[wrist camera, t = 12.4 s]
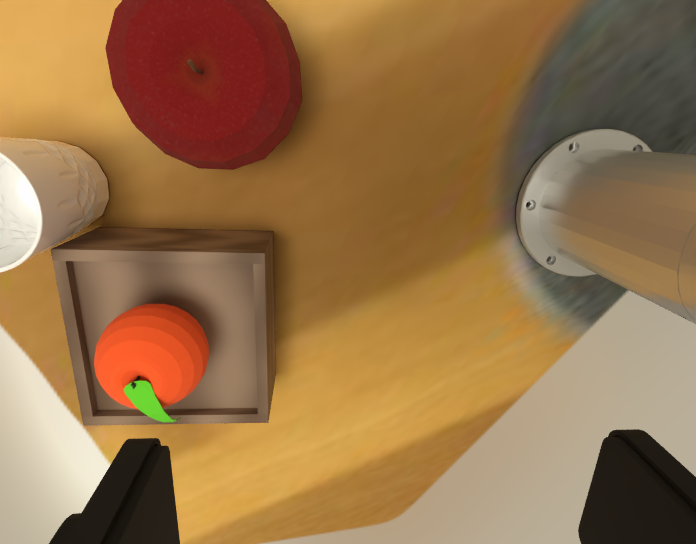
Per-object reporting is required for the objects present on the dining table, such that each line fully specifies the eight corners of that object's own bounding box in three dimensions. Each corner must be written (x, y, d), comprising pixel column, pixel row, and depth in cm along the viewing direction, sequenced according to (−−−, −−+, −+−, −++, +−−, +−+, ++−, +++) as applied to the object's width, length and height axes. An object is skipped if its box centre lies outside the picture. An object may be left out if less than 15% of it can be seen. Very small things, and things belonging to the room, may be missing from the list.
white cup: (122, 236, 35) (51, 276, 25) (20, 232, 34) (-92, 271, 25) (112, 136, 32) (29, 140, 23) (2, 129, 32) (-131, 129, 22)
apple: (125, 81, 31) (23, 54, 20) (224, -32, 30) (171, -128, 19) (237, 190, 34) (201, 218, 23) (332, 94, 33) (342, 75, 22)
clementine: (240, 364, 33) (221, 426, 26) (157, 395, 33) (118, 463, 26) (192, 274, 30) (158, 316, 23) (103, 307, 30) (44, 359, 24)
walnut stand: (273, 231, 36) (264, 253, 29) (275, 375, 40) (268, 422, 34) (99, 227, 34) (50, 249, 28) (121, 376, 39) (83, 425, 32)
